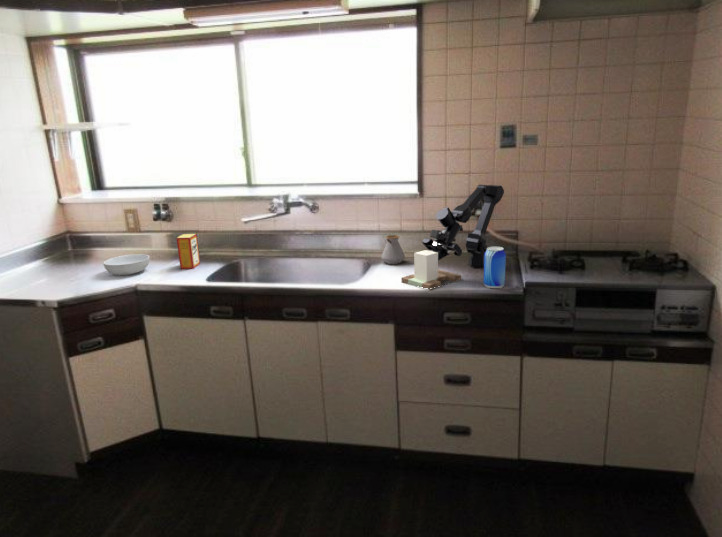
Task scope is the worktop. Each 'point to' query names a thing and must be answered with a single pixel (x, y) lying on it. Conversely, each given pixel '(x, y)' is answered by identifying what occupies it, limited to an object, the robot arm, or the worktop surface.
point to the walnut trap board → (442, 279)
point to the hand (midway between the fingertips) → (432, 262)
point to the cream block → (426, 265)
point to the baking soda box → (188, 251)
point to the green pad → (417, 282)
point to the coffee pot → (392, 251)
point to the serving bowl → (127, 264)
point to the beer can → (494, 267)
